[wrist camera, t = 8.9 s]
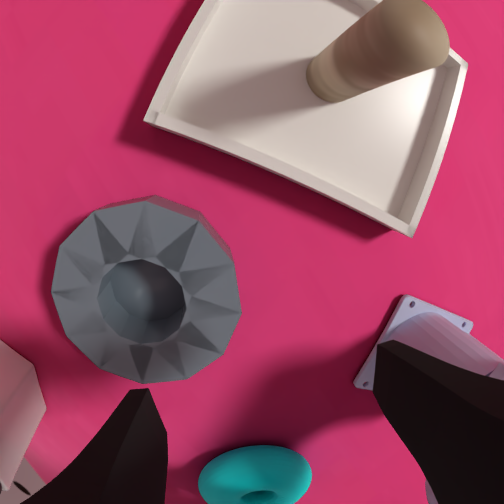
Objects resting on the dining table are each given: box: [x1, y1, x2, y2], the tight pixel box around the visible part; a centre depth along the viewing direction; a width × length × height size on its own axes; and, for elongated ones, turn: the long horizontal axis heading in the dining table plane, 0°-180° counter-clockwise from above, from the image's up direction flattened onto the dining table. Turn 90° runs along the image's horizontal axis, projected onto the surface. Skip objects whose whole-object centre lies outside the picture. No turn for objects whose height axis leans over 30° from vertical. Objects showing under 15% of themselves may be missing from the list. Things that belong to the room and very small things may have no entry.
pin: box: [306, 0, 450, 103], centre depth 12 cm, size 3×3×8 cm
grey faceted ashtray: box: [51, 195, 242, 384], centre depth 17 cm, size 10×10×3 cm
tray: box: [143, 0, 468, 238], centre depth 16 cm, size 16×13×2 cm
